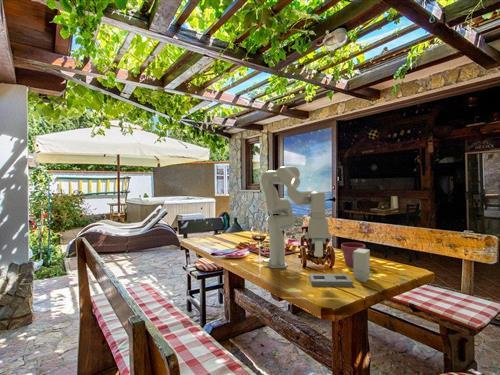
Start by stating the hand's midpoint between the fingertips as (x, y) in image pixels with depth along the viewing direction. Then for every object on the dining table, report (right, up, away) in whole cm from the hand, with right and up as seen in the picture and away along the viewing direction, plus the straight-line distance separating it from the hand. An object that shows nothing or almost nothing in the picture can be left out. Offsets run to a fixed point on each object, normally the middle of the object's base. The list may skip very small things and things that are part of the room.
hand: (318, 250), depth 153 cm
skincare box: (+24, -17, +5) cm, 30 cm away
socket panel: (+6, -17, 0) cm, 18 cm away
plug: (0, -2, 0) cm, 2 cm away
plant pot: (+29, -16, +31) cm, 45 cm away
